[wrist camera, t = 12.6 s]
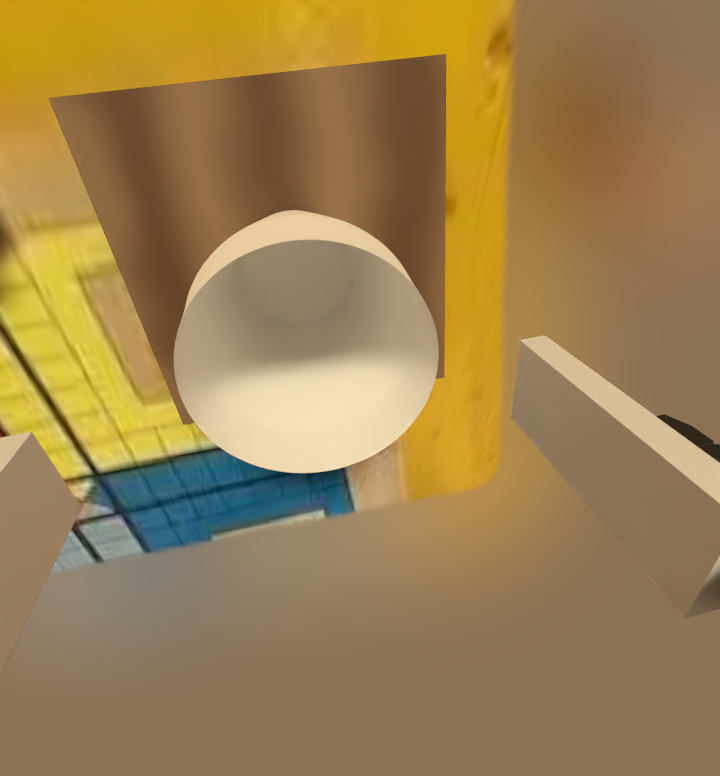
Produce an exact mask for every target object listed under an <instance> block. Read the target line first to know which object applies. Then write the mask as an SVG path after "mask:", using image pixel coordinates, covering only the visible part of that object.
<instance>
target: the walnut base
mask: <svg viewBox="0 0 720 776" xmlns="http://www.w3.org/2000/svg"><path fill="white" fill-rule="evenodd" d="M49 100H50V103H51V105H52V108H53V110H54V112H55V115H56V117H57V120H58V122H59V125H60V127H61V129H62V132H63V134H64V137H65V139H66V141H67V144H68V146H69V149H70V151H71V154H72V156H73V158H74V161H75V163H76V166H77V168H78V170H79V173H80V175H81V178H82V180H83V183H84V185H85V187H86V190H87V192H88V195H89V197H90V200H91V202H92V204H93V207H94V209H95V212H96V214H97V216H98V219H99V221H100V224H101V226H102V229H103V231H104V233H105V236H106V238H107V241H108V243H109V246H110V248H111V250H112V253H113V255H114V258H115V260H116V262H117V265H118V267H119V270H120V272H121V275H122V277H123V279H124V282H125V284H126V287H127V289H128V292H129V294H130V296H131V299H132V301H133V304H134V306H135V308H136V311H137V313H138V316H139V318H140V321H141V323H142V325H143V328H144V330H145V333H146V335H147V338H148V340H149V342H150V345H151V347H152V350H153V352H154V354H155V357H156V359H157V362H158V364H159V367H160V369H161V371H162V374H163V376H164V379H165V381H166V384H167V386H168V388H169V391H170V393H171V396H172V398H173V400H174V403H175V405H176V408H177V410H178V413H179V415H180V417H181V420H182V422H183V425H185V424H191V423H195V422H194V421H193V419H192V418H191V416H190V415H189V413H188V411H187V410H186V408H185V406H184V404H183V402H182V399H181V397H180V394H179V391H178V388H177V384H176V380H175V373H174V346H175V340H176V336H177V331H178V328H179V325H180V322H181V319H182V316H183V313H184V310H185V306H186V301H187V297H188V294H189V291H190V288H191V285H192V283H193V281H194V279H195V277H196V275H197V273H198V272H199V270H200V269H201V267H202V266H203V264H204V263H205V262H206V260H207V259H208V258H209V257H210V255H211V254H212V253H213V252H214V251H215V250H216V249H217V248H218V247H219V246H220V245H221V244H222V243H223V242H225V241H226V240H227V239H228V238H230V237H231V236H232V235H234V234H235V233H237V232H239V231H240V230H242V229H244V228H245V227H247V226H249V225H251V224H253V223H255V222H257V221H260V220H262V219H264V218H266V217H268V216H270V215H272V214H275V213H278V212H282V211H289V210H299V211H306V212H311V213H316V214H320V215H324V216H328V217H332V218H335V219H339V220H342V221H345V222H347V223H350V224H352V225H354V226H356V227H358V228H360V229H362V230H364V231H365V232H367V233H369V234H370V235H372V236H373V237H374V238H376V239H377V240H379V241H380V242H381V243H382V244H383V245H385V246H386V247H387V248H388V249H389V250H390V251H391V252H392V253H393V254H394V255H395V257H396V258H397V259H398V260H399V262H400V263H401V264H402V266H403V267H404V269H405V271H406V272H407V274H408V276H409V277H410V279H411V281H412V282H413V284H414V285H415V287H416V288H417V290H418V291H419V293H420V294H421V296H422V297H423V299H424V301H425V302H426V304H427V306H428V308H429V311H430V313H431V315H432V318H433V321H434V324H435V327H436V332H437V337H438V346H439V360H438V369H437V374H436V379H437V378H443V377H444V333H445V164H446V54H443V55H434V56H425V57H416V58H407V59H397V60H388V61H379V62H370V63H361V64H352V65H343V66H334V67H325V68H316V69H307V70H298V71H289V72H280V73H271V74H261V75H252V76H243V77H234V78H225V79H216V80H207V81H198V82H189V83H180V84H171V85H162V86H153V87H144V88H135V89H126V90H116V91H107V92H98V93H89V94H80V95H71V96H62V97H53V98H49Z"/></svg>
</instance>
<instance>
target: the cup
mask: <svg viewBox="0 0 720 776" xmlns="http://www.w3.org/2000/svg"><path fill="white" fill-rule="evenodd" d="M438 360H439V346H438V337H437V332H436V327H435V324H434V321H433V318H432V315H431V313H430V311H429V308H428V306H427V304H426V302H425V301H424V299H423V297H422V296H421V294H420V293H419V291H418V290H417V288H416V287H415V285H414V284H413V282H412V281H411V279H410V277H409V276H408V274H407V272H406V271H405V269H404V267H403V266H402V264H401V263H400V262H399V260H398V259H397V258H396V257H395V255H394V254H393V253H392V252H391V251H390V250H389V249H388V248H387V247H386V246H385V245H383V244H382V243H381V242H380V241H379V240H377V239H376V238H374V237H373V236H372V235H370V234H369V233H367V232H365V231H364V230H362V229H360V228H358V227H356V226H354V225H352V224H350V223H347V222H345V221H342V220H339V219H335V218H332V217H328V216H324V215H320V214H316V213H311V212H306V211H299V210H289V211H282V212H278V213H275V214H272V215H270V216H268V217H266V218H264V219H262V220H260V221H257V222H255V223H253V224H251V225H249V226H247V227H245V228H244V229H242V230H240V231H239V232H237V233H235V234H234V235H232V236H231V237H230V238H228V239H227V240H226V241H225V242H223V243H222V244H221V245H220V246H219V247H218V248H217V249H216V250H215V251H214V252H213V253H212V254H211V255H210V257H209V258H208V259H207V260H206V262H205V263H204V264H203V266H202V267H201V269H200V270H199V272H198V273H197V275H196V277H195V279H194V281H193V283H192V285H191V288H190V291H189V294H188V297H187V301H186V306H185V310H184V313H183V316H182V319H181V322H180V325H179V328H178V331H177V336H176V340H175V346H174V373H175V380H176V384H177V388H178V391H179V394H180V397H181V399H182V402H183V404H184V406H185V408H186V410H187V411H188V413H189V415H190V416H191V418H192V419H193V421H194V422H195V423H196V425H197V426H198V427H199V428H200V430H201V431H202V432H203V433H204V434H205V435H206V436H207V437H208V438H209V439H210V440H212V441H213V442H214V443H215V444H216V445H218V446H219V447H220V448H222V449H223V450H225V451H226V452H228V453H229V454H231V455H233V456H235V457H237V458H239V459H241V460H243V461H245V462H247V463H250V464H253V465H256V466H259V467H262V468H266V469H270V470H275V471H280V472H290V473H315V472H324V471H330V470H335V469H339V468H343V467H346V466H349V465H352V464H355V463H358V462H360V461H362V460H365V459H367V458H369V457H371V456H373V455H374V454H376V453H378V452H380V451H381V450H383V449H384V448H386V447H387V446H389V445H390V444H391V443H393V442H394V441H395V440H396V439H397V438H399V437H400V436H401V435H402V434H403V433H404V432H405V431H406V430H407V429H408V428H409V427H410V426H411V424H412V423H413V422H414V421H415V419H416V418H417V417H418V415H419V414H420V412H421V411H422V409H423V408H424V406H425V404H426V402H427V400H428V398H429V396H430V393H431V391H432V388H433V385H434V382H435V379H436V374H437V369H438Z"/></svg>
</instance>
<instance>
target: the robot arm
mask: <svg viewBox="0 0 720 776" xmlns="http://www.w3.org/2000/svg"><path fill="white" fill-rule="evenodd" d="M511 417H512V419H513V420H514V421H515V422H516V424H517V425H518V426H519V427H520V428H521V430H522V431H523V432H524V433H525V434H526V435H527V436H528V438H529V439H530V440H531V441H532V442H533V443H534V445H535V446H536V447H537V448H538V449H539V450H540V452H541V453H542V454H543V455H544V456H545V457H546V459H547V460H548V461H549V462H550V463H551V464H552V465H553V467H554V468H555V469H556V470H557V471H558V472H559V474H560V475H561V476H562V477H563V478H564V479H565V481H566V482H567V483H568V484H569V485H570V486H571V487H572V489H573V490H574V491H575V492H576V493H577V494H578V496H579V497H580V498H581V499H582V500H583V501H584V503H585V504H586V505H587V506H588V507H589V508H590V510H592V512H593V513H594V514H595V515H596V517H597V518H598V519H599V520H600V521H601V522H602V523H603V525H604V526H605V527H606V528H607V529H608V530H609V532H610V533H611V534H612V535H613V536H614V537H615V538H616V540H617V541H618V542H619V543H620V544H621V545H622V547H623V548H624V549H625V550H626V551H627V552H628V554H629V555H630V556H631V557H632V558H633V559H634V560H635V562H636V563H637V564H638V565H639V566H640V568H641V569H642V570H643V571H644V572H645V573H646V574H647V576H648V577H649V578H650V579H651V580H652V581H653V583H654V584H655V585H656V586H657V587H658V588H659V590H660V591H661V592H662V593H663V594H664V595H665V596H666V598H667V599H668V600H669V601H670V602H671V603H672V605H673V606H674V607H675V608H676V609H677V610H678V612H680V614H681V615H682V616H683V617H684V618H688V617H692V616H695V615H699V614H703V613H706V612H710V611H713V610H717V609H720V445H719V444H716V445H715V444H714V443H713V440H711V439H710V438H708V437H707V436H706V435H704V434H702V433H701V432H700V431H698V430H697V429H695V428H694V427H692V426H691V425H688V424H686V423H683V422H681V421H679V420H676V419H674V418H672V417H669V416H667V415H660V416H654V415H653V414H652V413H650V412H649V411H648V410H646V409H645V408H644V407H642V406H641V405H639V404H638V403H637V402H635V401H634V400H632V399H631V398H630V397H629V396H627V395H626V394H624V393H623V392H622V391H620V390H619V389H618V388H616V387H615V386H613V385H612V384H611V383H609V382H608V381H607V380H605V379H604V378H602V377H601V376H600V375H598V374H597V373H596V372H594V371H593V370H591V369H590V368H589V367H587V366H586V365H585V364H583V363H582V362H581V361H579V360H578V359H576V358H575V357H574V356H572V355H571V354H570V353H568V352H567V351H565V350H564V349H563V348H561V347H560V346H558V345H557V344H556V343H554V342H553V341H552V340H550V339H549V338H547V337H546V336H540V337H534V338H529V339H524V340H520V343H519V352H518V361H517V372H516V380H515V389H514V398H513V407H512V416H511ZM81 508H82V507H81V506H80V504H79V503H78V501H77V500H76V498H75V497H74V495H73V494H72V492H71V491H70V489H69V488H68V486H67V485H66V483H65V482H64V480H63V479H62V477H61V476H60V474H59V473H58V471H57V470H56V468H55V467H54V465H53V463H52V462H51V460H50V459H49V457H48V456H47V454H46V453H45V451H44V450H43V448H42V447H41V445H40V444H39V442H38V441H37V439H36V438H35V436H34V435H33V433H32V432H29V433H24V434H19V435H13V436H8V437H3V438H0V675H1V673H2V671H3V669H4V667H5V664H6V663H7V661H8V658H9V656H10V654H11V652H12V650H13V648H14V646H15V644H16V642H17V640H18V638H19V636H20V634H21V632H22V630H23V627H24V625H25V623H26V621H27V619H28V617H29V615H30V613H31V611H32V609H33V607H34V605H35V603H36V601H37V599H38V596H39V594H40V592H41V590H42V588H43V586H44V584H45V582H46V580H47V578H48V576H49V574H50V572H51V570H52V568H53V565H54V563H55V561H56V559H57V557H58V555H59V553H60V551H61V549H62V547H63V545H64V543H65V541H66V539H67V537H68V534H69V532H70V530H71V528H72V526H73V524H74V522H75V520H76V518H77V516H78V514H79V512H80V510H81Z"/></svg>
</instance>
